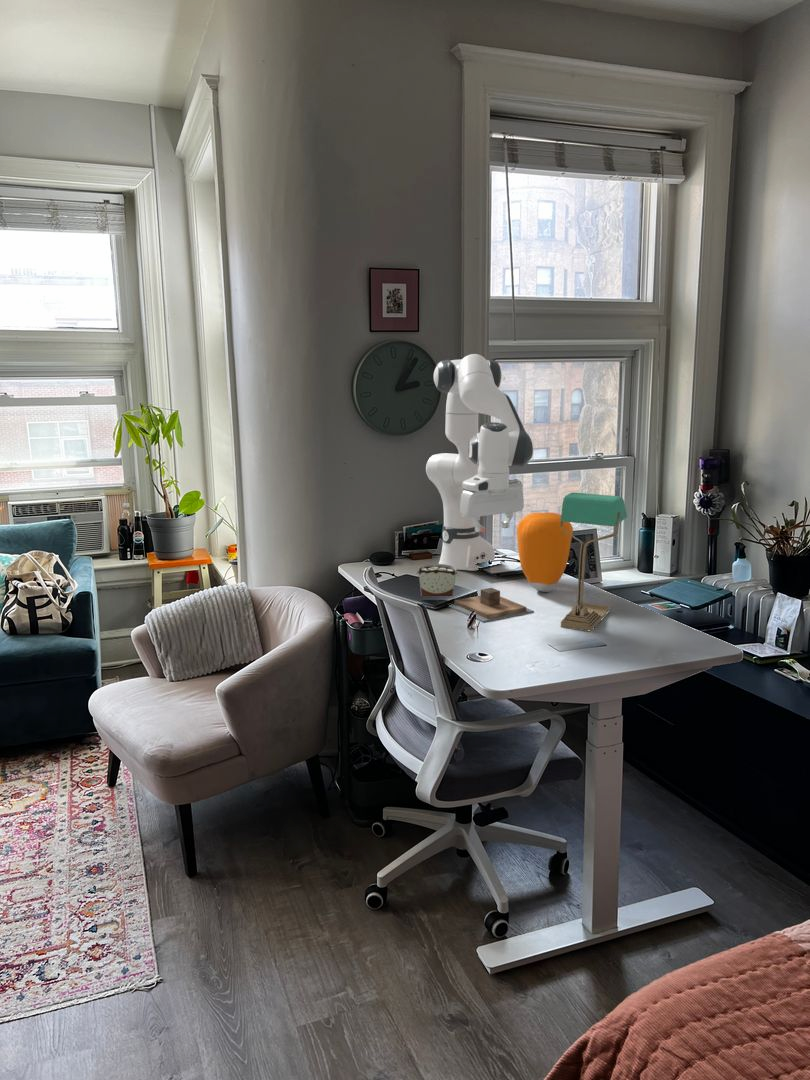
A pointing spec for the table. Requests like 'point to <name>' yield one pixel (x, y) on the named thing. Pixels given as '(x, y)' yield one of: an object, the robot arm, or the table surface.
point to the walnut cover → (490, 604)
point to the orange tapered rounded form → (543, 548)
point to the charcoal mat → (489, 618)
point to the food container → (437, 579)
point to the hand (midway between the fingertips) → (492, 529)
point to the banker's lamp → (586, 512)
